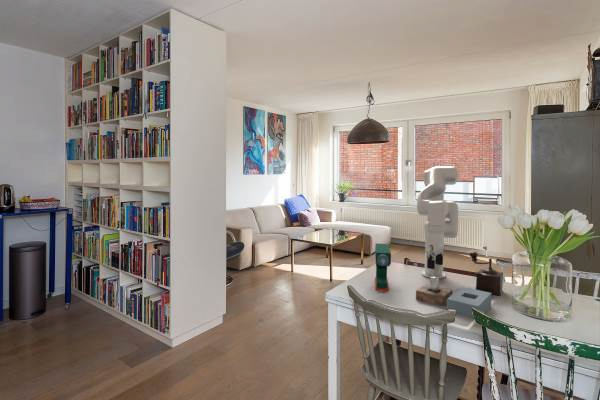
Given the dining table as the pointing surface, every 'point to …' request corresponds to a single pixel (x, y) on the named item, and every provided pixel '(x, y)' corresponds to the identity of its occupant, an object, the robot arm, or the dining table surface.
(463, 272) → the dining table surface
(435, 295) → the socket block
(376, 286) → the power tool
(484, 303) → the slotted box
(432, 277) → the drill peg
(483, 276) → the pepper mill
